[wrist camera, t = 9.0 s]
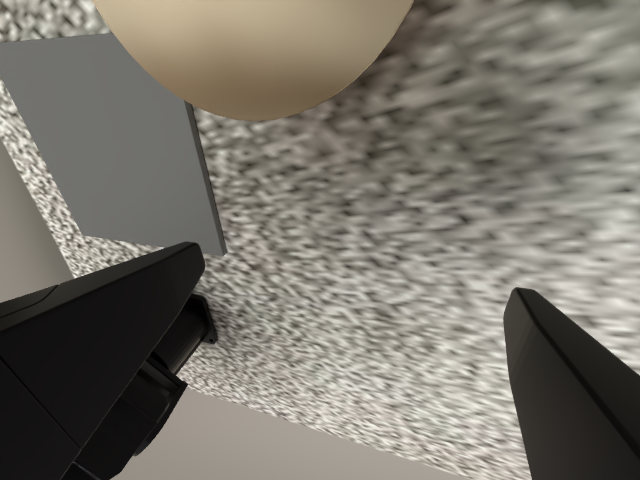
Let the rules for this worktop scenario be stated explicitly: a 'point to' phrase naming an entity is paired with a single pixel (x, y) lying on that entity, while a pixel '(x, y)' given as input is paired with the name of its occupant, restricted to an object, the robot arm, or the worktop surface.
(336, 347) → the worktop surface
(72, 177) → the mat
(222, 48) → the lid
